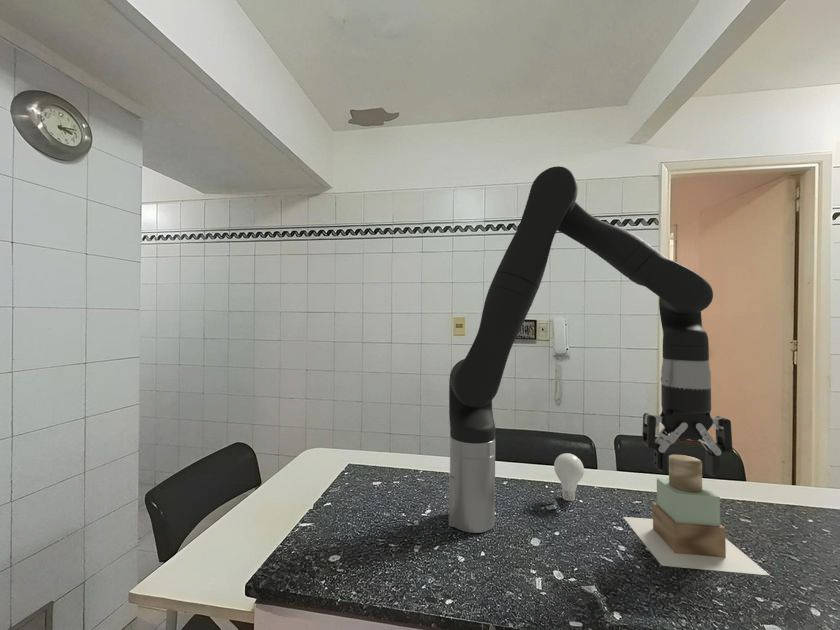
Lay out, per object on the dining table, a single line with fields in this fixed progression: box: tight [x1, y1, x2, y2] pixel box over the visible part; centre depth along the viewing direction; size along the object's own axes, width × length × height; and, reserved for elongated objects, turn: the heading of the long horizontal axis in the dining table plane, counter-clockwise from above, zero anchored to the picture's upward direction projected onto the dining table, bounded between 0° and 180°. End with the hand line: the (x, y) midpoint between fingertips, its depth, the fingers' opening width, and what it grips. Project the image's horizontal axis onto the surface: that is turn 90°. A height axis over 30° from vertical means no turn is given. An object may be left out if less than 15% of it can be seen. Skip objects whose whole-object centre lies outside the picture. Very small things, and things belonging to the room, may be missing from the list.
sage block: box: [656, 477, 721, 526], centre depth 69 cm, size 7×7×5 cm
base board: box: [622, 516, 771, 576], centre depth 69 cm, size 16×16×1 cm
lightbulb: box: [553, 452, 585, 502], centre depth 86 cm, size 6×6×11 cm
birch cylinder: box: [668, 454, 703, 493], centre depth 69 cm, size 5×5×5 cm
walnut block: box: [652, 502, 726, 558], centre depth 69 cm, size 8×8×5 cm
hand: (686, 472), depth 69 cm, fingers open, 8 cm apart
